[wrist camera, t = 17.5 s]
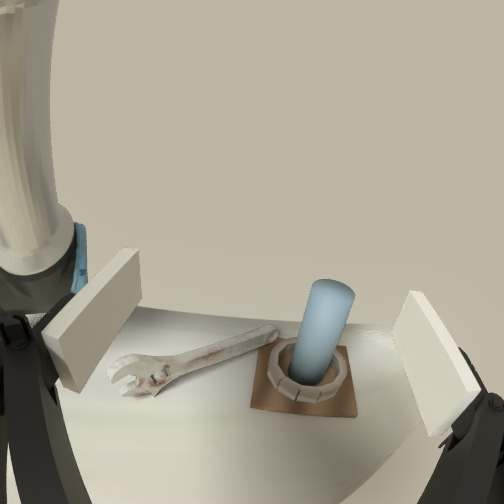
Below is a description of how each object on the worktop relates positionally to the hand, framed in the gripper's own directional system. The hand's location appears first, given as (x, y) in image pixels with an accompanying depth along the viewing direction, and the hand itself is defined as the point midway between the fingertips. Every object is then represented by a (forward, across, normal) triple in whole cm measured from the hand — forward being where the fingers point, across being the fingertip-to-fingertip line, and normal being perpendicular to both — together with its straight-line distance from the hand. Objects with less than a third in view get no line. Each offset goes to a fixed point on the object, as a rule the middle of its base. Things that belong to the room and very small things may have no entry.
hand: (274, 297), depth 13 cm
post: (+22, +9, -28) cm, 37 cm away
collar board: (+22, +10, -29) cm, 37 cm away
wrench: (+20, -6, -29) cm, 35 cm away
